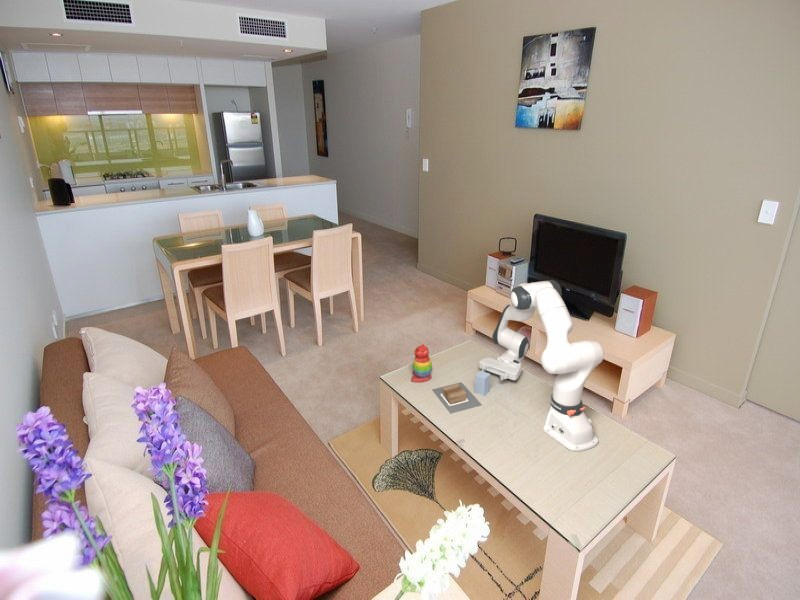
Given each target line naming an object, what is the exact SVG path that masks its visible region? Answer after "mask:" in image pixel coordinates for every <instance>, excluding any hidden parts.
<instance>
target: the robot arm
mask: <svg viewBox="0 0 800 600" xmlns="http://www.w3.org/2000/svg"><path fill="white" fill-rule="evenodd" d="M510 302H511V304H507V305H506V306H505V307H504V308H503V310H502V311H501V315H500V317H499V319H498V322H497V324H496V327H495V329H494V331H493V333H492V334H491V335H492V336H491V337H492V338H491V339H492V340H493V343H494V344H495V345H498V346H501V347H503V348H505V349H506V350H505V352H503V353H502V354H500V356H498V357H497V358H496V359H495V358H493V357H489V356H487V357H484V358H482V359H480V360H479V362H478V368H479V369H482V370H481V371H483V372H486V371H487V372H488V373H492V374H495V375H497V376H499V377H498V380H499V381H503V380H507V379H509V380H511V381H517V380H518V379H519V377H520V375H521V374H522V363H521V362H522V361H523V359H524V358H525V357H526V355H527V353H528V351H529V349H530V341H529V339H528V337H527V336H525V335H523V334H521V333H519V332H517V331H515V330H513V329H511V328H509V327H508V323H509V321H514V322H525V321H528V320H530V319H532V317H533V316H534V314H535V311H536V309H537V312H538V315H539V318H540V320H541V323H542V325H543V328H544V330H545V335H546V345H545V348H544V350H543V351H542V353H541V355H540V363H541V366H542V368H543V370H544V371H546V372H547V373H548V374H551V375H557V376H556V377H555V379H554V380H553V381H554V382H553V388H552V393H551V394H550V395H551V396H550V407H549V410H548V413H547V417H546V418H545V421H544V426H543V428H542V431H543V432H544V433H545V434H547V435H548V436H550V437H551V439H554V440H555V441H557V442H558V443H560V444H561V445H562V446H564V448H566V449H568V450H569V451H571V452H583V451H587V450H590V449H592V448H594V447H596V446H598V444H599V439H598V438H597V436H596V435H595V434H594V429H593V428H594V427H593V426H592V420H591V419H590V418H588V417H587V416H586V413H585V412H584V411H586V407H585V406H583V401H582V395H583V390H584V386H585V385H586V381H587V380H588V378H589V376H591V375H590V374H591V373H592V372H593V370H595V368H596V367H598V365H599V364H601V363H602V362H603V360H604V357H605V355H604V349H603V347H602V345H601V344H600V343H599V342H597V341H596V340H588V339H587V340H578V341H573V342H570V341H569V334H570V333H571V332H572V331H573V329H574V321H573V318H572V316H571V315H570V312H569V310H568V307H567V306H566V304H565V303H566V302H565V301H564V300H563V298H562V287H561V285H560V283H558V282H557V281H556V280H553V279H550V280H549V279H547V280H543V281H535V282H533V281H532V282H530V283H529V282H523V283H520V284H518V285H517V286H515V287H514V288H512V289H511V291H510ZM487 372H486V373H487Z"/></svg>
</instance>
